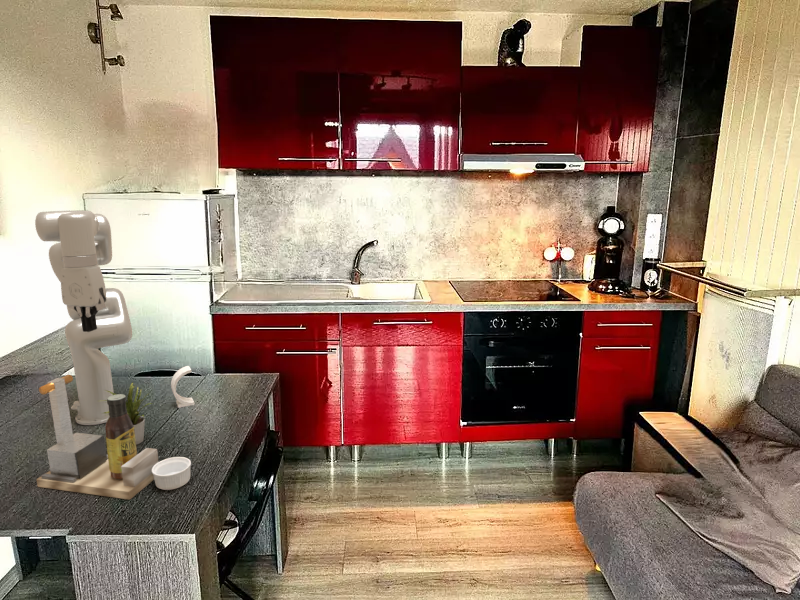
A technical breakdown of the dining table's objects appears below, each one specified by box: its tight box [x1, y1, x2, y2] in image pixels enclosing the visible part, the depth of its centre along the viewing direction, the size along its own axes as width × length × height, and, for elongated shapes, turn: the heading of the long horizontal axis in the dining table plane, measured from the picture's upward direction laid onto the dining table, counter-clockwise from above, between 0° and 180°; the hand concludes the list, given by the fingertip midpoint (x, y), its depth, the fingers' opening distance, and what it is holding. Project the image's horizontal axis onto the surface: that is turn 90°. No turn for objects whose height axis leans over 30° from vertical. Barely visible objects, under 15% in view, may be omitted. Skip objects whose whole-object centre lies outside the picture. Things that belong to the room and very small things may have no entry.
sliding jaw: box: [38, 374, 108, 479], centre depth 134 cm, size 8×9×23 cm
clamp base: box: [36, 447, 160, 500], centre depth 135 cm, size 26×13×7 cm, turn 78°
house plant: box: [100, 381, 153, 446], centre depth 153 cm, size 14×14×16 cm
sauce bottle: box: [104, 393, 138, 479], centre depth 132 cm, size 7×6×20 cm
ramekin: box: [152, 456, 192, 491], centre depth 134 cm, size 9×9×4 cm
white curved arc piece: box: [170, 365, 196, 409], centre depth 177 cm, size 5×6×12 cm
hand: (90, 330), depth 145 cm, fingers closed
